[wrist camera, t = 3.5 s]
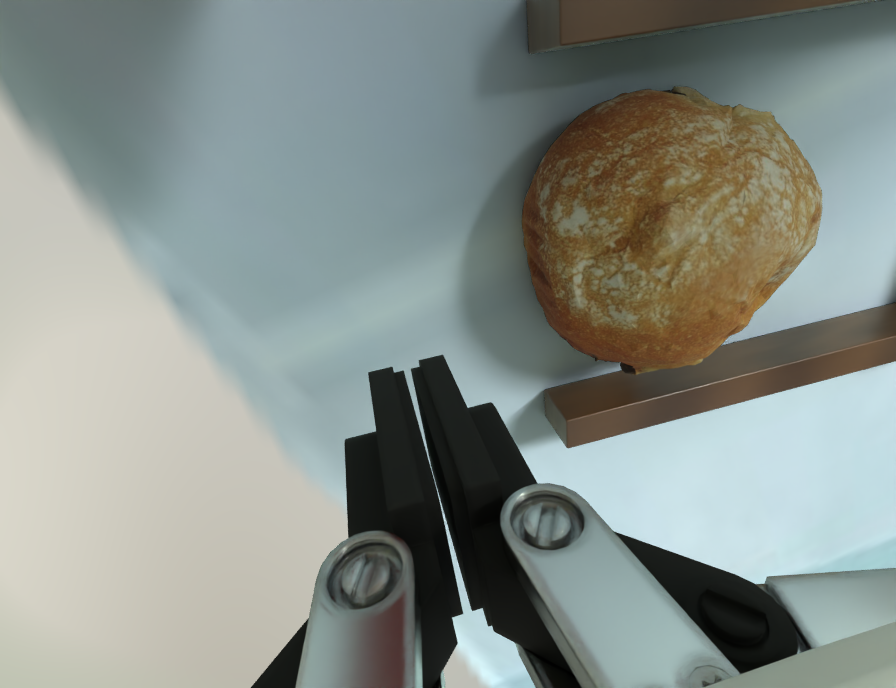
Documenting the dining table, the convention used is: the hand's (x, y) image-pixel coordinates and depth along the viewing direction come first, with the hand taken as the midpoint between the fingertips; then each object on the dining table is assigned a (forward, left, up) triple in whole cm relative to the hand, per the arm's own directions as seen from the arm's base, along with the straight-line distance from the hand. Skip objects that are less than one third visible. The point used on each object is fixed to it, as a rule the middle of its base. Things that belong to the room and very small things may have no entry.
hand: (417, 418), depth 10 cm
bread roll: (-10, 0, -9) cm, 13 cm away
